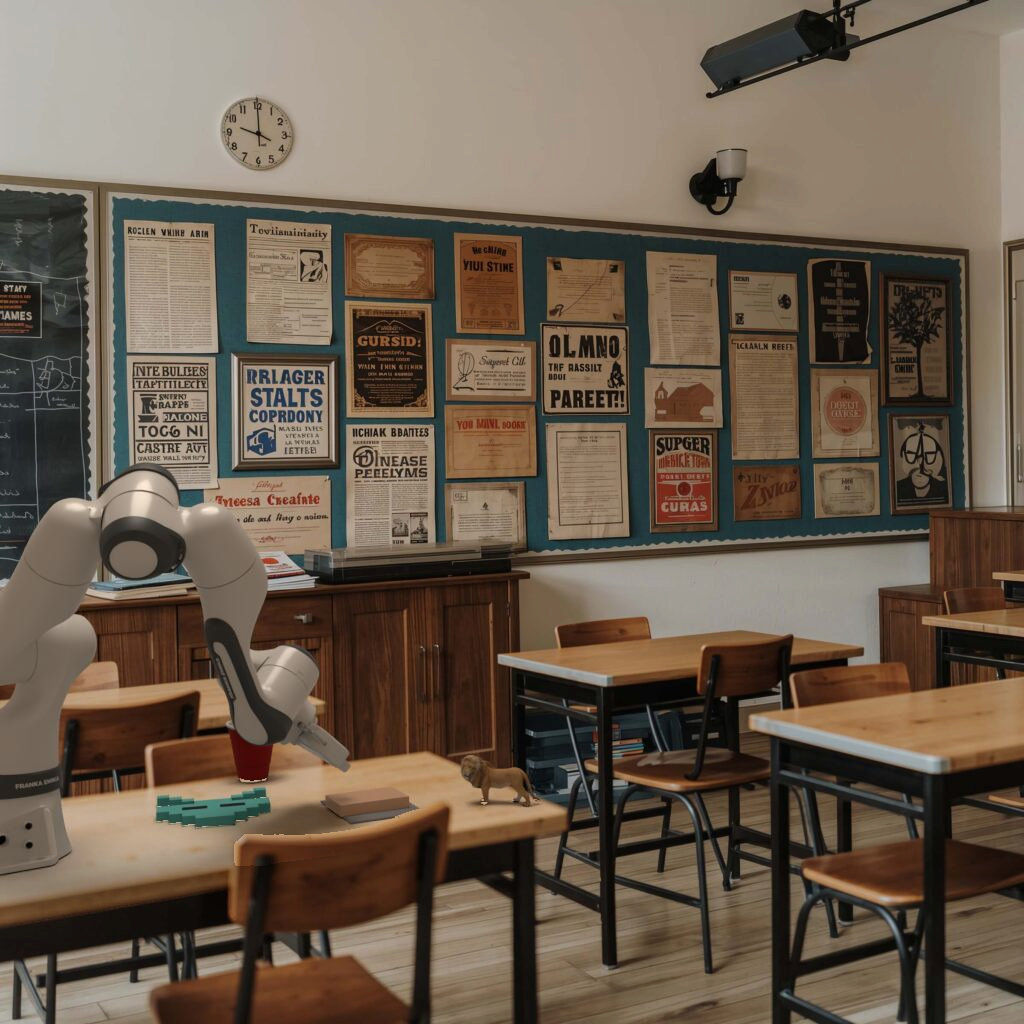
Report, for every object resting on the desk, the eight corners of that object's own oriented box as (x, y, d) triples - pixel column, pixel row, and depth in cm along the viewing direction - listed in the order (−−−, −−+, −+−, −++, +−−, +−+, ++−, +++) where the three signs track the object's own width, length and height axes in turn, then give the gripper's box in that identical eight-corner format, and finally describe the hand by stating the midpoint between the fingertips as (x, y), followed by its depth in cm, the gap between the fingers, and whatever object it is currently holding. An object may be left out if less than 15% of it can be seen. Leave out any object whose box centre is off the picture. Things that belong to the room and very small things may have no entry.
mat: (351, 824, 214) (351, 822, 214) (320, 802, 230) (320, 800, 230) (425, 813, 220) (425, 811, 220) (391, 793, 237) (390, 791, 237)
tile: (340, 805, 218) (409, 796, 224) (325, 795, 226) (391, 786, 232) (340, 817, 218) (409, 807, 224) (325, 806, 226) (392, 797, 232)
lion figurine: (459, 807, 224) (458, 758, 224) (463, 800, 230) (462, 752, 230) (539, 807, 223) (538, 757, 223) (541, 800, 228) (540, 751, 228)
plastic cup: (267, 787, 244) (266, 726, 244) (217, 785, 246) (216, 725, 246) (289, 775, 255) (288, 717, 254) (241, 773, 257) (239, 716, 257)
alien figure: (157, 807, 231) (155, 834, 212) (157, 795, 231) (155, 821, 212) (265, 798, 237) (273, 824, 217) (265, 787, 237) (273, 811, 217)
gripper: (320, 714, 210) (376, 764, 215) (288, 698, 229) (340, 745, 233) (296, 743, 208) (352, 793, 213) (265, 724, 227) (318, 771, 231)
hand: (345, 768), depth 223 cm, fingers closed
